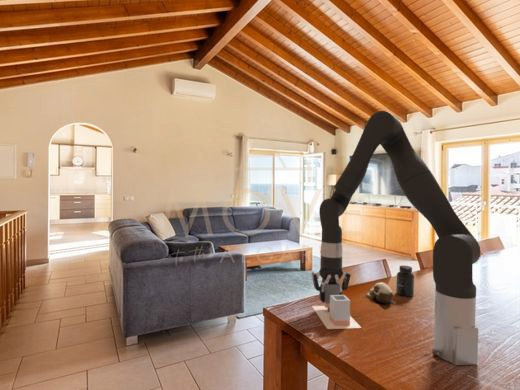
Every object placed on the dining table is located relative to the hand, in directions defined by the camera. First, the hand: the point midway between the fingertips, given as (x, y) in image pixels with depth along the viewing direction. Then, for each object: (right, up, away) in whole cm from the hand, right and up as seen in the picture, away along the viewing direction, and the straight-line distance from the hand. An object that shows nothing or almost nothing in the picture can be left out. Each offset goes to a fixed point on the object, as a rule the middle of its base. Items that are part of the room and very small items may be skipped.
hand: (330, 301), depth 107 cm
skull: (+23, -5, +14) cm, 28 cm away
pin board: (0, -5, -4) cm, 7 cm away
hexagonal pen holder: (+1, -3, -9) cm, 10 cm away
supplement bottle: (+37, -5, +22) cm, 43 cm away
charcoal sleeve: (0, -1, 0) cm, 1 cm away
